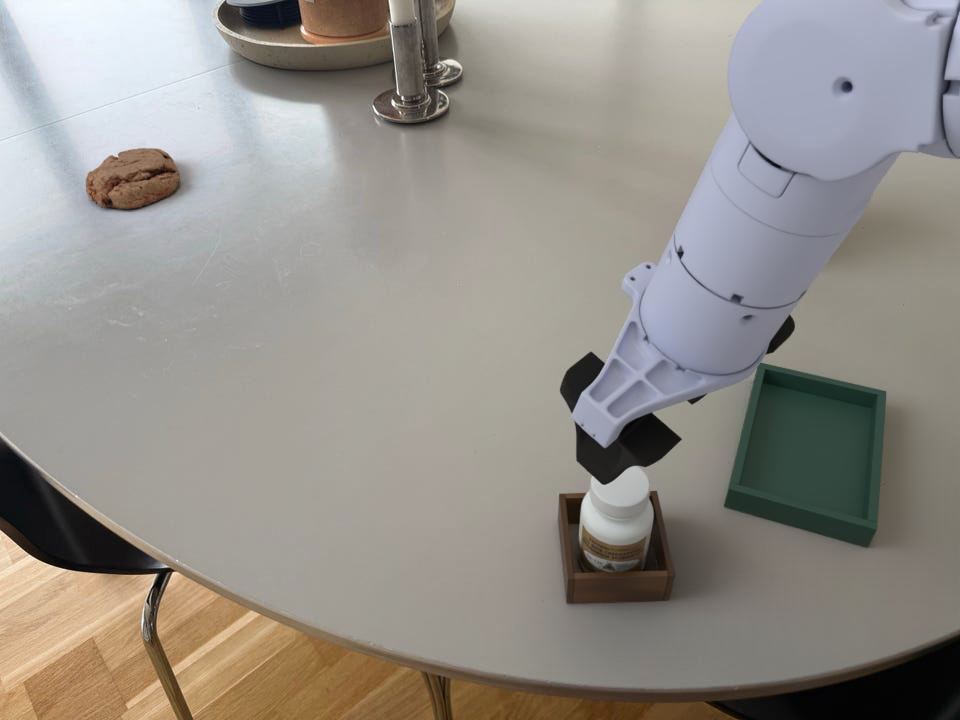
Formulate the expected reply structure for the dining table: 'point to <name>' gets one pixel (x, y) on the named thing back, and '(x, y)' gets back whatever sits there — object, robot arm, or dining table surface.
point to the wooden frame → (615, 583)
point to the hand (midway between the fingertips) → (639, 427)
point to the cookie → (133, 179)
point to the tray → (811, 454)
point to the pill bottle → (616, 524)
